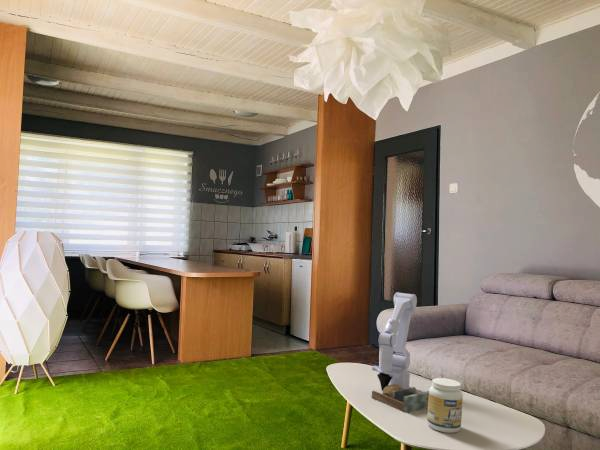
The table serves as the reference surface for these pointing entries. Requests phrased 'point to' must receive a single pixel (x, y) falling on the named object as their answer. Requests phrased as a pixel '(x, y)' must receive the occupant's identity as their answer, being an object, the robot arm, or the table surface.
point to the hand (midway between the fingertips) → (384, 390)
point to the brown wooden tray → (409, 404)
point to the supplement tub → (445, 405)
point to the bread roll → (391, 390)
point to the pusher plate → (403, 393)
